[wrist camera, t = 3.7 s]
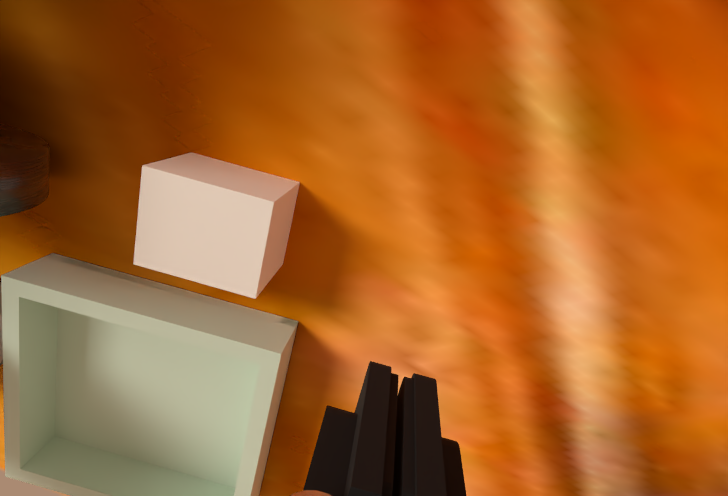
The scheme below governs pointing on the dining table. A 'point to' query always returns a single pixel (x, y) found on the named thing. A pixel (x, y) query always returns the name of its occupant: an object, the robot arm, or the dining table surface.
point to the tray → (136, 384)
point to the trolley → (22, 170)
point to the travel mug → (0, 342)
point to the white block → (213, 222)
